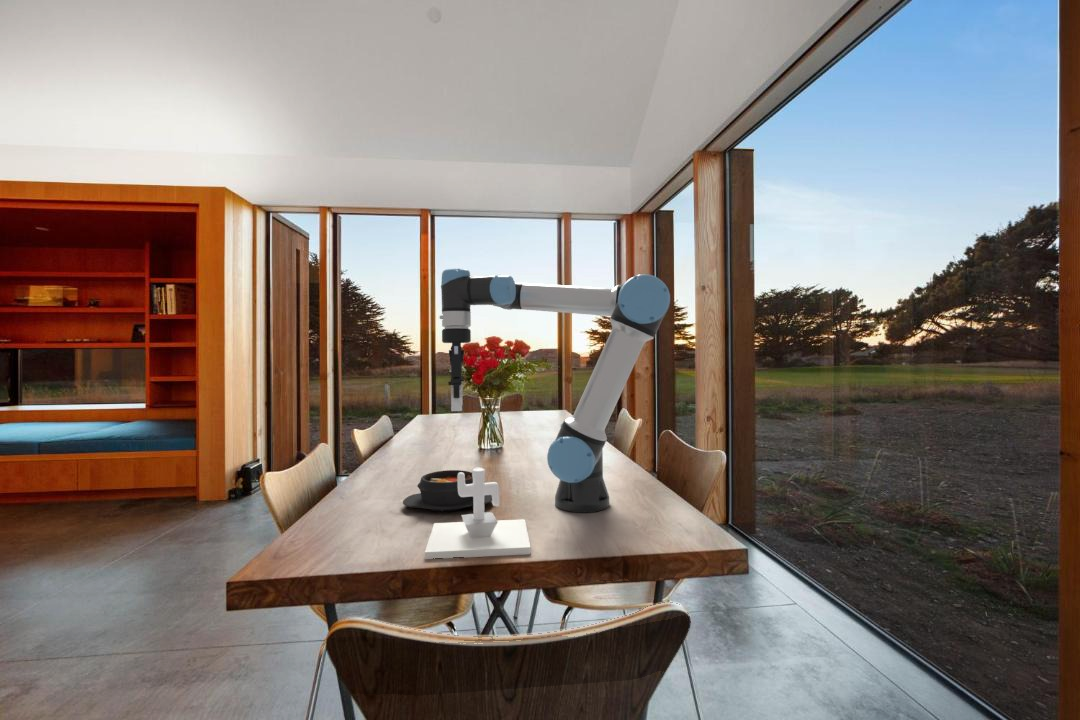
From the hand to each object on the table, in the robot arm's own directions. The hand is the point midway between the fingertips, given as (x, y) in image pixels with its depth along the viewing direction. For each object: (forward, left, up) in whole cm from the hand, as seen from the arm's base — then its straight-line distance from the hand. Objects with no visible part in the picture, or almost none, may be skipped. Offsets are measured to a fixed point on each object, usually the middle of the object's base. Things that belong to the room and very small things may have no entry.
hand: (457, 408), depth 137 cm
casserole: (+3, -7, -28) cm, 29 cm away
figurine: (-6, +21, -27) cm, 35 cm away
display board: (-6, +21, -28) cm, 36 cm away
